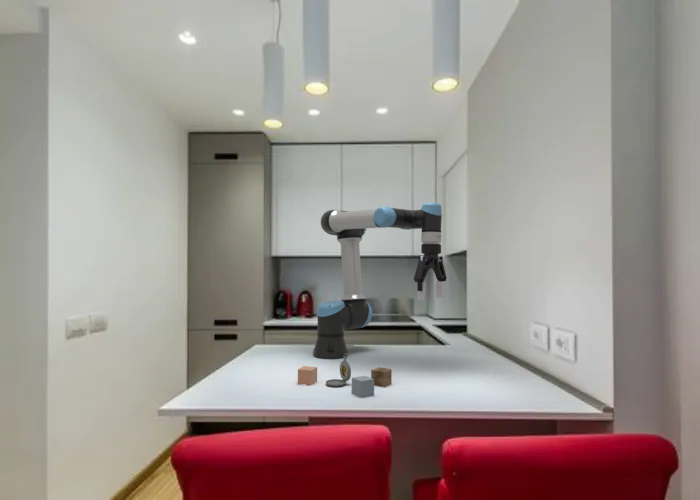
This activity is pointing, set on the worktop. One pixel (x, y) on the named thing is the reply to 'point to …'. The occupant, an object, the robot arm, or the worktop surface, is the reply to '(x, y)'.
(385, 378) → the walnut cube
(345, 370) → the pocket watch
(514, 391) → the worktop surface
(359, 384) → the slate cube
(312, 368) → the terracotta cube
